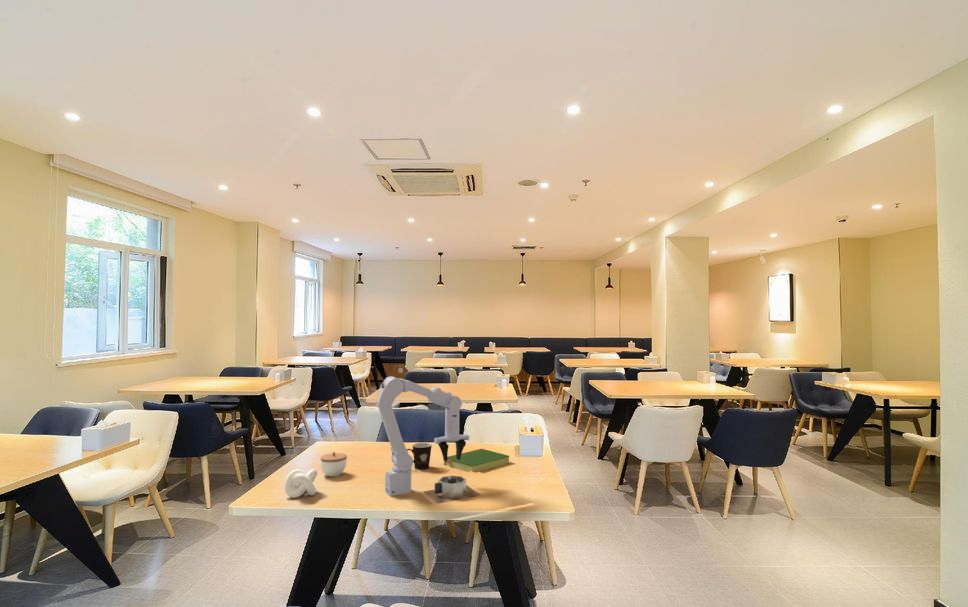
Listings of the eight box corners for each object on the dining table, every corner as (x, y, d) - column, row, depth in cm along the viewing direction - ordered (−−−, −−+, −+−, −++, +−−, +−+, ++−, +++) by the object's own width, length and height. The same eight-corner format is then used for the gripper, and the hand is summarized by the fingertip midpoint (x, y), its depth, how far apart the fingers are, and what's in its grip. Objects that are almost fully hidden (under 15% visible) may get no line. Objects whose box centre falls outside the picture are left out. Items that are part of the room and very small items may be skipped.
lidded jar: (319, 479, 196) (319, 456, 196) (321, 471, 206) (321, 450, 207) (346, 477, 199) (346, 454, 199) (346, 470, 209) (347, 448, 209)
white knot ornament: (282, 502, 170) (282, 476, 170) (286, 491, 181) (286, 467, 182) (315, 499, 173) (316, 474, 173) (317, 488, 184) (317, 465, 185)
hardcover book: (481, 456, 235) (481, 448, 236) (509, 463, 222) (509, 455, 222) (443, 466, 218) (443, 457, 218) (470, 475, 204) (470, 466, 205)
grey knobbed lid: (447, 495, 173) (447, 482, 173) (439, 490, 179) (439, 476, 179) (464, 492, 176) (465, 479, 177) (456, 487, 183) (456, 474, 183)
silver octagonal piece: (440, 500, 170) (440, 486, 170) (430, 492, 179) (430, 478, 179) (469, 495, 176) (469, 481, 176) (458, 487, 184) (458, 474, 185)
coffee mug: (433, 465, 217) (433, 443, 218) (429, 470, 209) (429, 447, 209) (408, 464, 218) (408, 442, 219) (403, 469, 210) (403, 446, 210)
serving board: (437, 505, 167) (437, 503, 167) (422, 493, 179) (422, 491, 179) (481, 497, 176) (482, 495, 176) (465, 486, 188) (465, 484, 188)
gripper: (439, 429, 182) (439, 465, 181) (472, 425, 189) (472, 460, 188) (432, 425, 188) (431, 460, 187) (465, 422, 195) (464, 456, 194)
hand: (451, 460), depth 188 cm, fingers open, 5 cm apart
